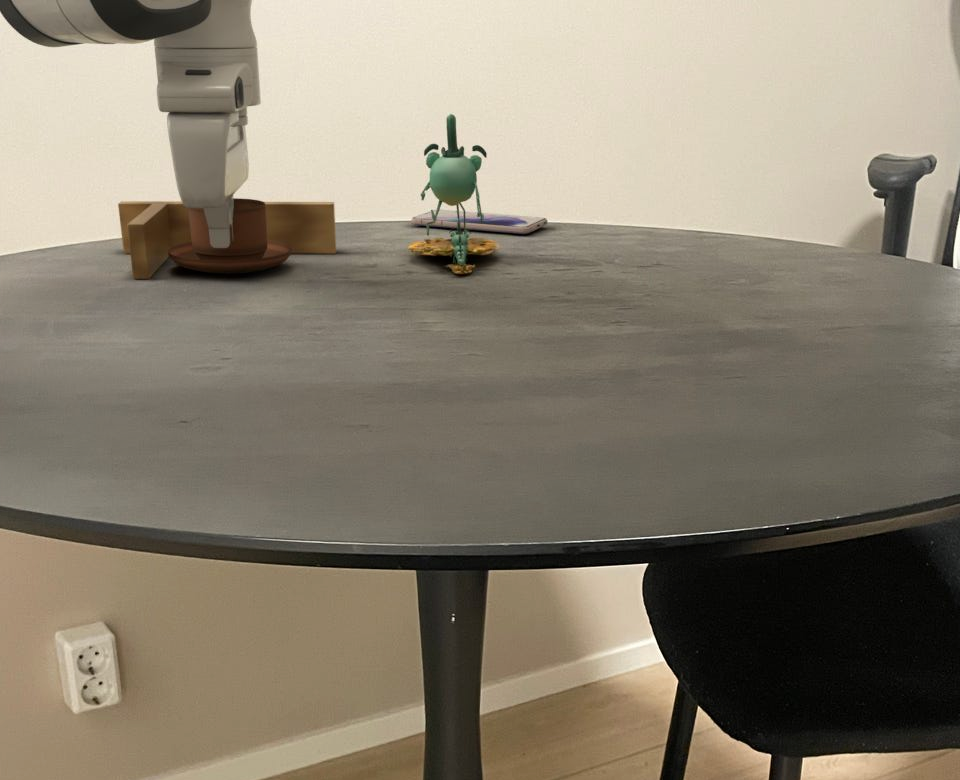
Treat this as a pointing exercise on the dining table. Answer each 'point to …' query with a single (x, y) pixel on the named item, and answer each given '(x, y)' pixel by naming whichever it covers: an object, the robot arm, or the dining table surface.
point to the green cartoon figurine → (453, 200)
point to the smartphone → (488, 224)
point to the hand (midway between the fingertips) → (222, 245)
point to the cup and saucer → (242, 253)
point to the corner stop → (168, 225)
